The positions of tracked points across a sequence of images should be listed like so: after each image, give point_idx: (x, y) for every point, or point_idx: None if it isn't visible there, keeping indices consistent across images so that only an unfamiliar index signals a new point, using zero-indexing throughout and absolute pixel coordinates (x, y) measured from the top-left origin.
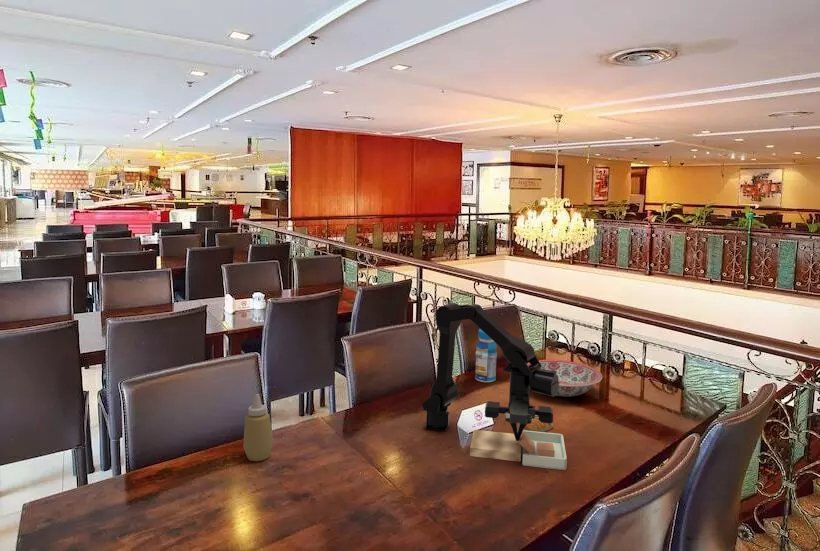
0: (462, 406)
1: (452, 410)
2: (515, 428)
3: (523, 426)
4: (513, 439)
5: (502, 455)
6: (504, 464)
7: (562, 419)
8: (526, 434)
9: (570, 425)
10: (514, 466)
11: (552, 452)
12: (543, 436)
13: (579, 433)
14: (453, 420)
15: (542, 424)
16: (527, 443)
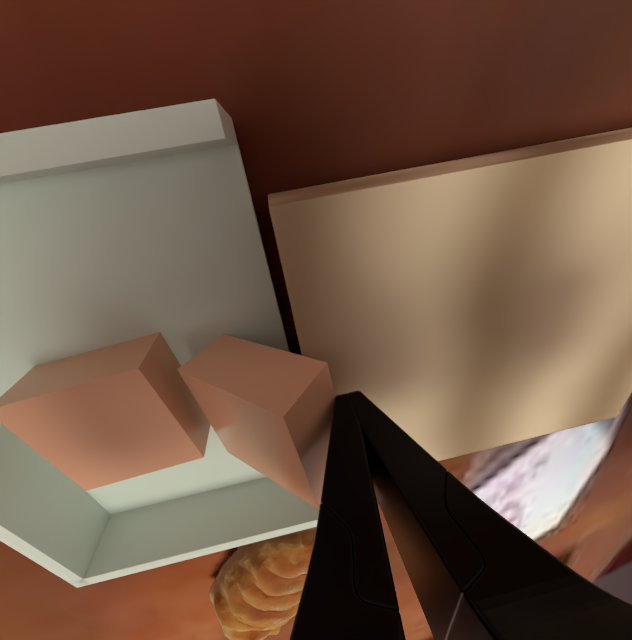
0: (549, 540)
1: (592, 511)
2: (440, 519)
3: (324, 625)
4: None
5: (443, 168)
6: (402, 64)
7: (204, 620)
8: (301, 500)
9: (157, 612)
10: (301, 55)
11: (19, 389)
12: (200, 524)
13: (89, 596)
14: (613, 464)
15: (243, 592)
16: (243, 386)
